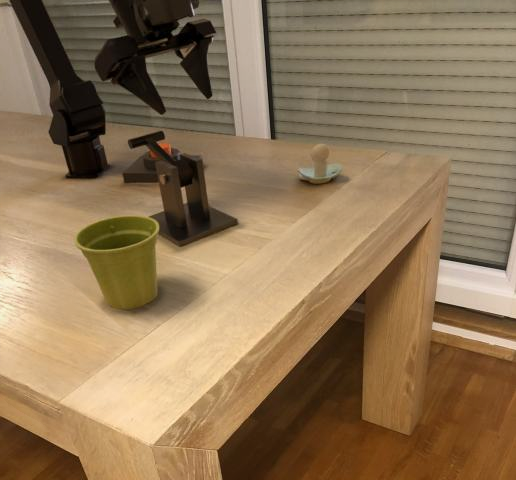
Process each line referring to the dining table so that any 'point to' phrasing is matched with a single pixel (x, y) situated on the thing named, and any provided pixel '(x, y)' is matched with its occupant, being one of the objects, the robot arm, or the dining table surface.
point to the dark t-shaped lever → (163, 155)
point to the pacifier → (320, 166)
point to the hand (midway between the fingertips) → (187, 105)
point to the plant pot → (122, 258)
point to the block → (147, 168)
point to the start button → (165, 146)
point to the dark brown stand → (187, 205)
